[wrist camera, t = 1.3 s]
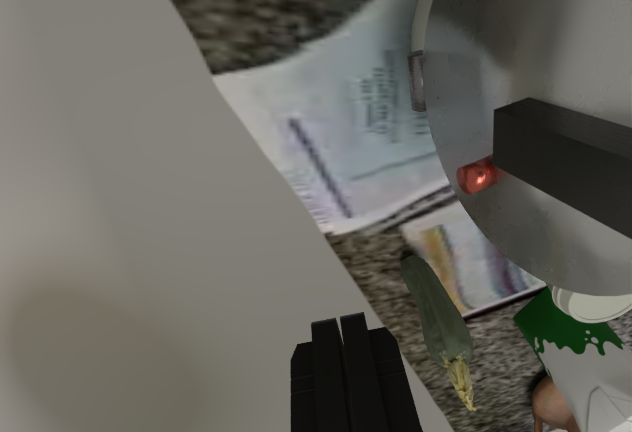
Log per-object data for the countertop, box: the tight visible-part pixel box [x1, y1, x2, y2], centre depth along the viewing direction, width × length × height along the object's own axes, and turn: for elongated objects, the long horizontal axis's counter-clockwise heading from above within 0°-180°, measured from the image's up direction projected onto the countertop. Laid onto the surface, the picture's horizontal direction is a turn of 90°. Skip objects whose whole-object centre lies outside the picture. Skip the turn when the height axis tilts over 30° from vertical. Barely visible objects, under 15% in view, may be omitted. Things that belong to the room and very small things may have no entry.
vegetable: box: [401, 255, 477, 411], centre depth 42 cm, size 4×4×20 cm
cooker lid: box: [407, 0, 632, 296], centre depth 20 cm, size 19×25×4 cm
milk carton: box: [513, 286, 632, 432], centre depth 49 cm, size 9×9×20 cm
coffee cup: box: [545, 282, 632, 323], centre depth 44 cm, size 8×8×12 cm
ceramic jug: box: [531, 375, 580, 432], centre depth 61 cm, size 18×14×14 cm
